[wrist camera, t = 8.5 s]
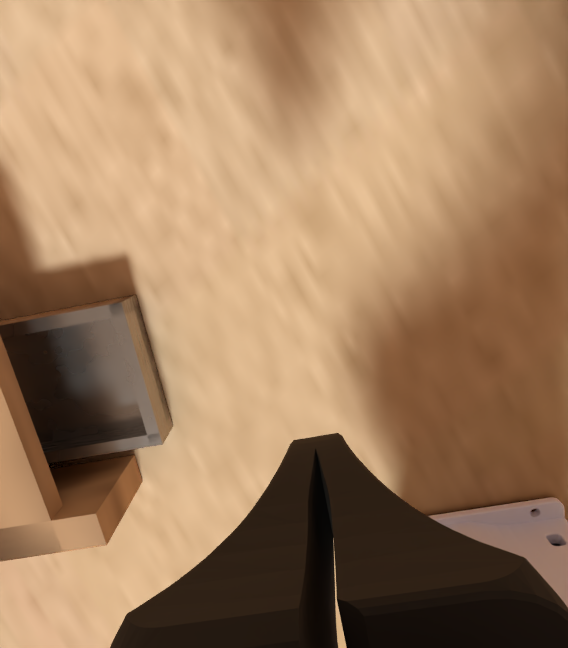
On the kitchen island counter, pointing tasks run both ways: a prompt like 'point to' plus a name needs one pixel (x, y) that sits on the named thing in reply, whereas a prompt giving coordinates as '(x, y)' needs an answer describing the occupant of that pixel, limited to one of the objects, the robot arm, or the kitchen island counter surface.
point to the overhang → (53, 487)
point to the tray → (88, 379)
